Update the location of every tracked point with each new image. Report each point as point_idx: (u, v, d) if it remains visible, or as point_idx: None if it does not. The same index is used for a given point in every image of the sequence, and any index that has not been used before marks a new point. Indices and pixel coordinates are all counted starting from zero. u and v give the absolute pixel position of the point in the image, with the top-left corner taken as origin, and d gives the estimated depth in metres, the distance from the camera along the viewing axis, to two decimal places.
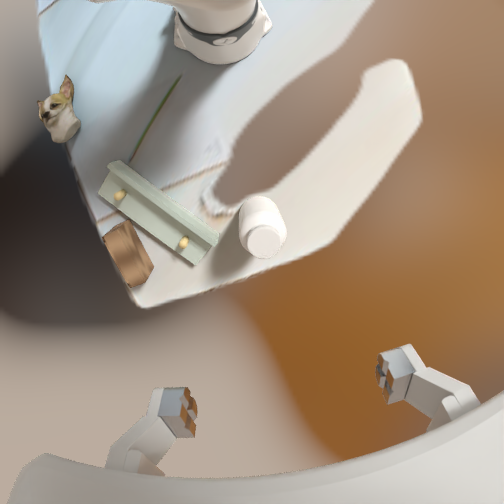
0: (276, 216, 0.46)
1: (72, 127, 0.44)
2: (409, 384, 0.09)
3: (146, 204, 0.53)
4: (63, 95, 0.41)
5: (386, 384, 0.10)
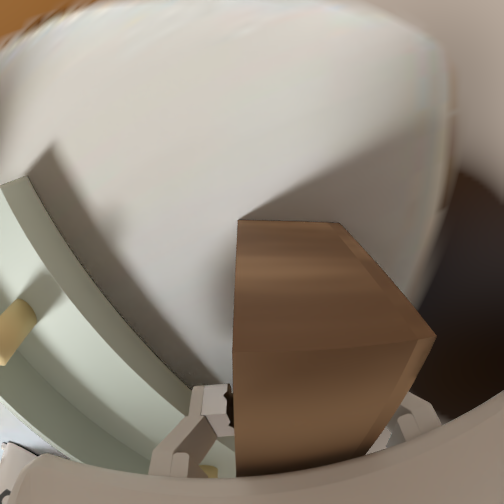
0: None
1: None
2: None
3: (144, 439, 0.14)
4: None
5: None
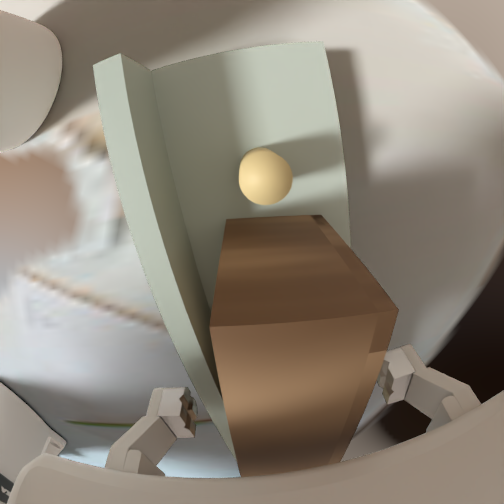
0: None
1: None
2: (409, 384, 0.09)
3: None
4: None
5: (386, 384, 0.10)
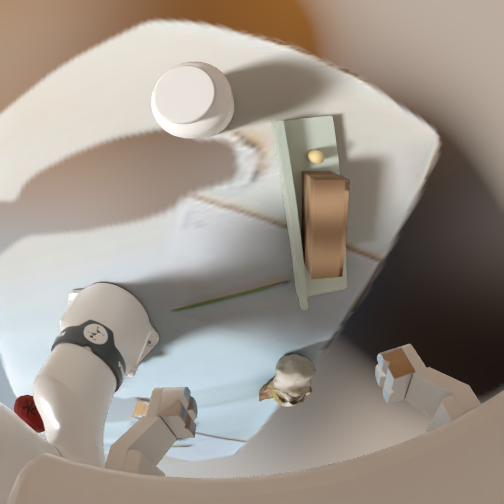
0: (153, 112, 0.24)
1: (284, 369, 0.47)
2: (409, 384, 0.09)
3: None
4: (271, 394, 0.50)
5: (386, 384, 0.10)
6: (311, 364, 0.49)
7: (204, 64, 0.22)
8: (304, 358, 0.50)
